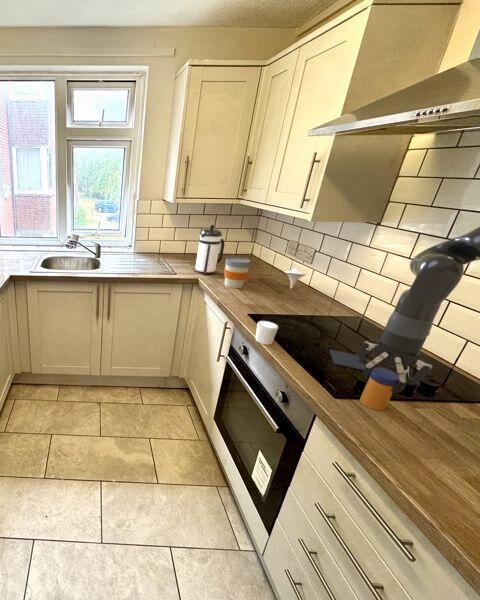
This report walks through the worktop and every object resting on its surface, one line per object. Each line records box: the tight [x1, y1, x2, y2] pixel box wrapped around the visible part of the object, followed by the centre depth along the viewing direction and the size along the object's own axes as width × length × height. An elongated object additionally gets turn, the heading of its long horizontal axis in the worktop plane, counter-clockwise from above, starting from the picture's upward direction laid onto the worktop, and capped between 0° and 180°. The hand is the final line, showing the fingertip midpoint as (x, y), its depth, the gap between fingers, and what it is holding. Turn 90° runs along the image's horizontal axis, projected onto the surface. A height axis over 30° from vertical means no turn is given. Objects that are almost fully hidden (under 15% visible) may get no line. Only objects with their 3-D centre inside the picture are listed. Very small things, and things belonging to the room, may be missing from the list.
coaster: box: [328, 349, 366, 372], centre depth 107 cm, size 10×10×1 cm
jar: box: [359, 377, 395, 411], centre depth 86 cm, size 5×5×10 cm
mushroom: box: [283, 267, 308, 290], centre depth 171 cm, size 10×11×12 cm
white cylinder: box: [255, 320, 279, 346], centre depth 119 cm, size 7×7×7 cm
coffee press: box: [194, 224, 225, 276], centre depth 196 cm, size 17×16×30 cm
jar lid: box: [370, 367, 399, 386], centre depth 84 cm, size 6×6×2 cm
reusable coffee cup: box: [223, 256, 251, 289], centre depth 175 cm, size 13×13×15 cm
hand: (380, 385), depth 85 cm, fingers closed on jar lid, 5 cm apart
